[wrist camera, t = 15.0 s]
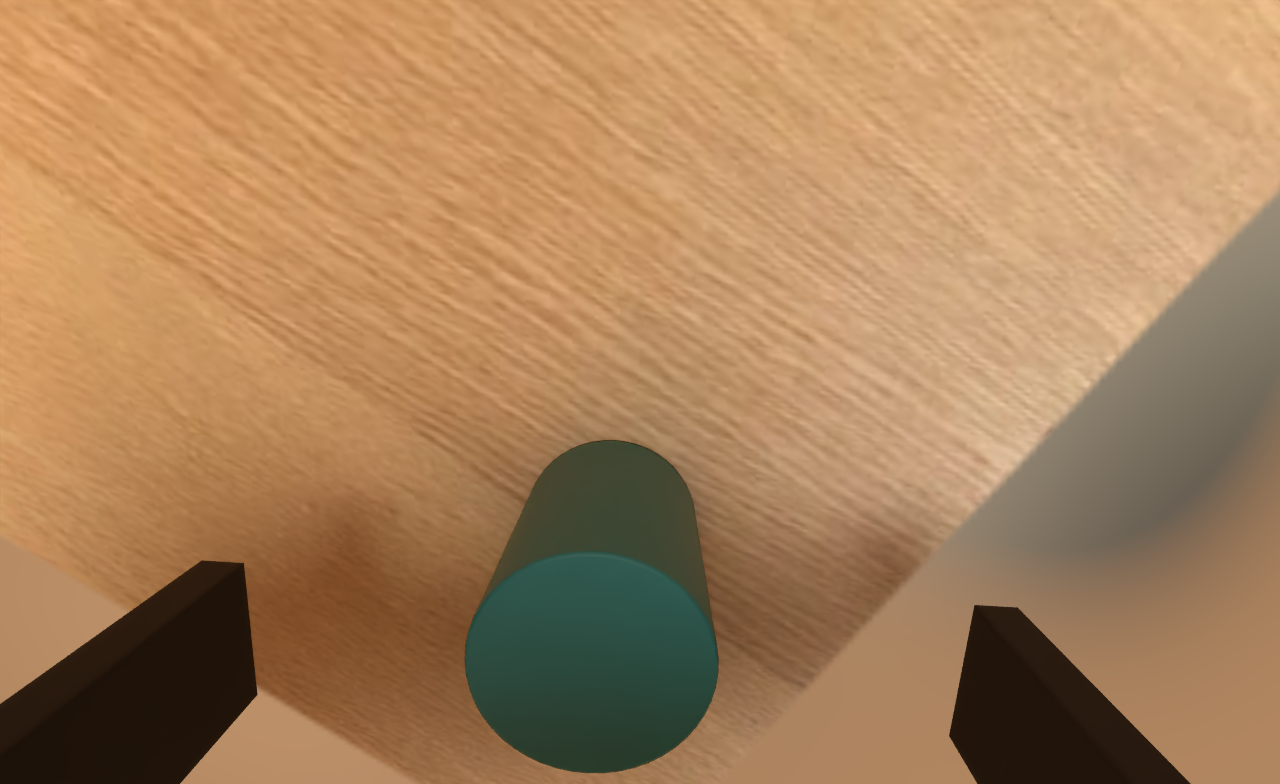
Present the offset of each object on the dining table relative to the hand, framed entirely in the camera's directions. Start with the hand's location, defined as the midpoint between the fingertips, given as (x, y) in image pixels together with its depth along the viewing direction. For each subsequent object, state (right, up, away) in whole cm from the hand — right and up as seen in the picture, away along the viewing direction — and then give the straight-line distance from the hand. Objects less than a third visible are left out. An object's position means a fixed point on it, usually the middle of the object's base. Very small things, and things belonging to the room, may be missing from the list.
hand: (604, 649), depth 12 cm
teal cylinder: (0, +1, +5) cm, 5 cm away
